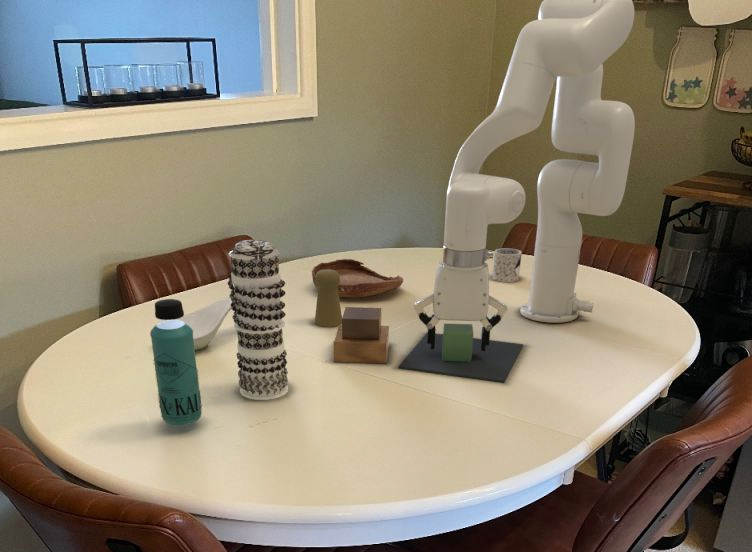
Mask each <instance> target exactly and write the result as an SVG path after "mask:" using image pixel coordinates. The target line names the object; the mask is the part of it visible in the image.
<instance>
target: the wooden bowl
mask: <svg viewBox="0 0 752 552" xmlns="http://www.w3.org/2000/svg"><path fill="white" fill-rule="evenodd" d="M364 265H365V263H364V262H363V261H362V262H361V261H359V260H356V259H352V258H343V259H336V260H332V261H328V262H320V263H318V264H317V265H315V266H314V267H313V268H312V270H311V277H312V283H313V286H314V287H315V289H316V290H317V291H318V286H317V284H316V281H315V277H316V274H317V272H319V271H320V270H325V269H330V270H335V271H337V272H338V273H339V275H340V283H339V285H338V293H339V298H363V297H371V296H375V295H379V294H381V293H385V292H388V291H391V290H393V289H394V290H396V289H399V288H400V287H401V286H402V285H403V283H404V278H403V276H400V275H397V276H395V277H393V276H389V277H388V276H385V275H381V274H380V273H378V272H376V271H375V270H372V269H370V268H369V267H367V266H364Z"/></svg>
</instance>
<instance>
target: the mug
mask: <svg viewBox="0 0 752 552" xmlns="http://www.w3.org/2000/svg"><path fill="white" fill-rule="evenodd" d="M522 254H523V253H522V251H521V250H519V249H516V248H507V247H505V248H497V249H494V254H493V266H492V267H493V269H492V280H493V281H496V282H499V283H500V282H501V283H514V282H517V281H519V279H520V271H521V263H522Z"/></svg>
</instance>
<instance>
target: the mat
mask: <svg viewBox="0 0 752 552" xmlns="http://www.w3.org/2000/svg"><path fill="white" fill-rule="evenodd" d="M427 339H428V332H426V333H425V334H424V336H422V338H421V339H420V340H419V341H418V343H417V344H416V345H414V347H413V348H412V350H411V351H410V352H409V353H408V354H407V356H405V358H404V359H403V360H402V361H401V363H400V364H399V365H398V367H397V368H398V369H402V370H408V371H415V372H423V373H430V374H437V375H446V376H452V377H460V378H468V379H474V380H481V381H488V382H495V383H504V384H505V383H506V380H507V378H508V376H509V375H510V372H511V371H512V369H513V367H514V364H515V363H516V361H517V358H518V357H519V354H520V353H521V351H522V349H523V347H524V344H523V343H517V342H509V341H508V342H507V341H500V340H491V339H489V345H486V346H485V351H482V350H481V338H475V337H473V346H472V359H471V362H463V361H442V342H443V333H435V348H434V349H433V350H431V344H427Z"/></svg>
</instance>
